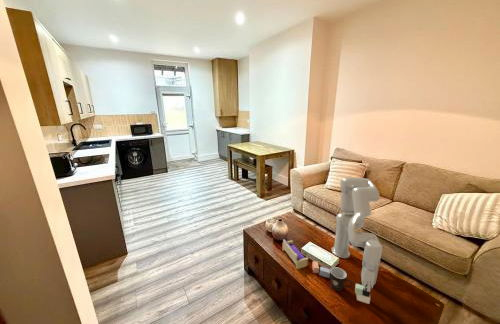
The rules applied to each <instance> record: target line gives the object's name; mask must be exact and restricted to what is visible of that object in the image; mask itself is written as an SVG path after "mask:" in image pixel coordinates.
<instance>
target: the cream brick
mask: <svg viewBox="0 0 500 324" xmlns="http://www.w3.org/2000/svg"><path fill="white" fill-rule="evenodd" d="M355 296H356V301H359V302H361V303H364V304H368V305H369V304H370V302H371V294H370V295H369V297H368V298H367V297H364V296H361V295H358V294H356V295H355Z"/></svg>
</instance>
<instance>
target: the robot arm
mask: <svg viewBox="0 0 500 324" xmlns="http://www.w3.org/2000/svg"><path fill="white" fill-rule="evenodd" d="M339 185H340V190H341V196H340V203H339V205H340V206H339V208H340V211H341V212H339V213H338V214H337V215H336V216H335V217H336V226H335V227H336V228H335V238H334V245H333V246H332V247H331V252H332V254H333V255H335V257H337V256H338V258H340V259H341V258H342V259H348V258H350V256H351V252H350V251H349V247H350V245H352V246H353V247H359V248H364V250H363V255H362V261H361V265H362V268H361V272H360V277H361V285H363V286H364V288H363V293H362V295H364V296H367V297H369V295H370V296H371V290H372V289H373V288H374V285H375V284H374V279H375V272H376V271H378V272H379V267H380V264H379V263H381V259H380V258H382V257H381V253H383V245H382V244H381V243H380V242H379V238H378V236H377V235H376V234H374V233H370V232H357V231H356V228H358V229H359V228H362V227H363V226H364V222H365V218H368V217H370V216H371V214H372V210H371V203H370V202H378V201H379V199H380V191H379V190H378V188H377V187H376V185H375V184H374V183H373V181H372V180H370V178H365V177H364V178H363V177H343V178H341V180H340V182H339ZM373 284H374V285H373ZM366 287H367V288H366Z"/></svg>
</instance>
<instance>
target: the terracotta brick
mask: <svg viewBox="0 0 500 324" xmlns="http://www.w3.org/2000/svg"><path fill="white" fill-rule="evenodd" d="M318 262H319V261H314V260H313V261H312V263H311V267H312V273H314V274H319V273H320V267H319V263H318Z"/></svg>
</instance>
